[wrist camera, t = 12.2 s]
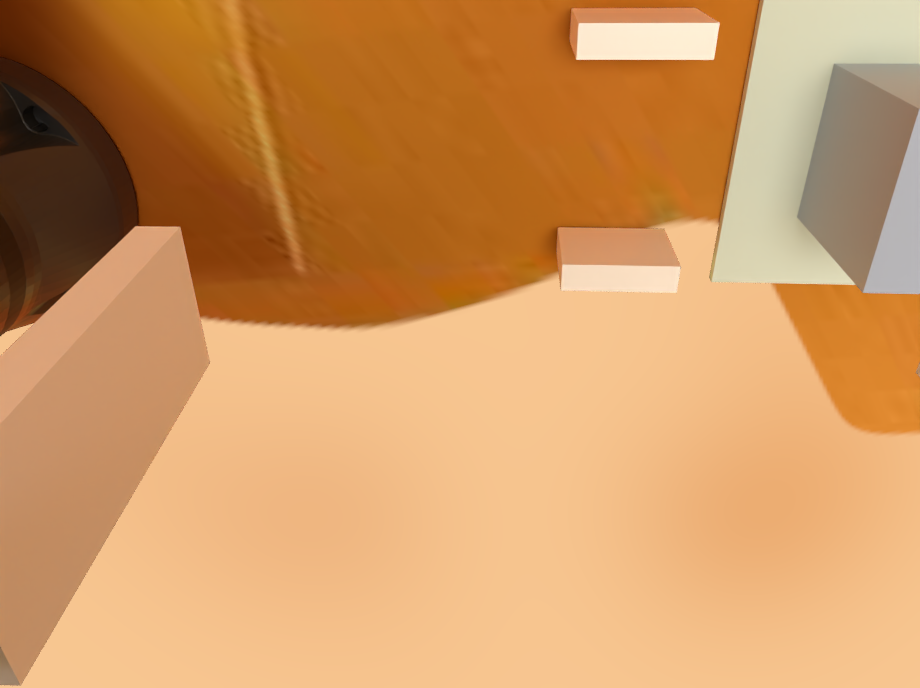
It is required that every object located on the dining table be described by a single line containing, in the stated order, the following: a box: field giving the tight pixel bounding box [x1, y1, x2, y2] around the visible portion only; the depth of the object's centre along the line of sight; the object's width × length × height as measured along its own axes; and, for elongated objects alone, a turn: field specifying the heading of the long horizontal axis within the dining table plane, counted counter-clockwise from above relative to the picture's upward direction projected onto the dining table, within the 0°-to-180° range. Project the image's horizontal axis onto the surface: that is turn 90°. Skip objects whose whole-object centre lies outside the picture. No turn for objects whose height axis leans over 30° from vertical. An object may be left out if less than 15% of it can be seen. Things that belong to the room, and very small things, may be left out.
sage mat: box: [709, 0, 920, 285], centre depth 38 cm, size 12×16×1 cm
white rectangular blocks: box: [556, 8, 720, 293], centre depth 37 cm, size 6×13×5 cm, turn 0°
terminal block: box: [797, 64, 920, 294], centre depth 34 cm, size 4×8×9 cm, turn 0°
